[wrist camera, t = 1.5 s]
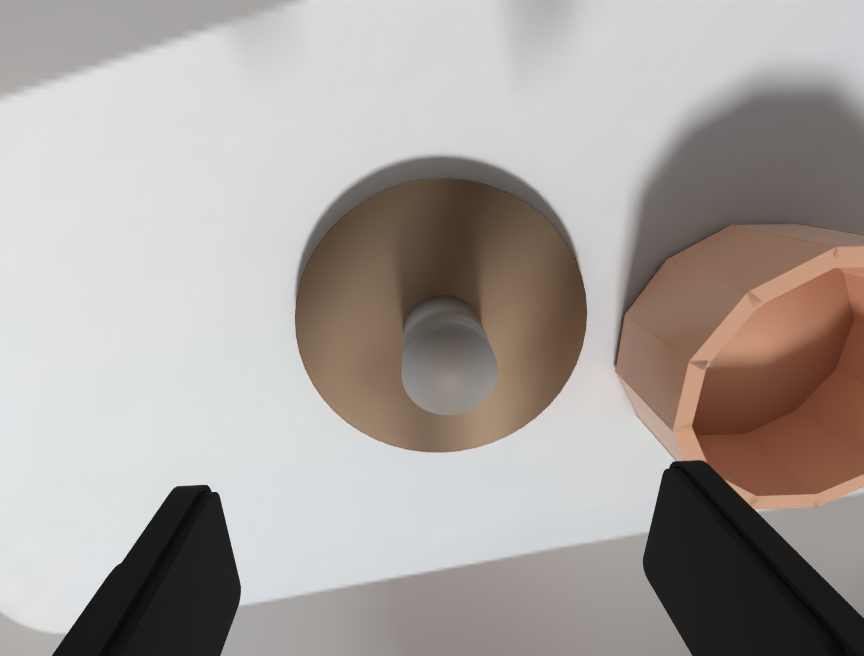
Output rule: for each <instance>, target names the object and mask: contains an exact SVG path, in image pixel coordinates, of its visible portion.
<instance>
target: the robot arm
mask: <svg viewBox="0 0 864 656" xmlns="http://www.w3.org/2000/svg"><path fill="white" fill-rule="evenodd" d="M643 567H644V572H645V574H646V577H647V579H648V581H649V582H650V584H651V586H652V587H653V589H654V591H655V592H656V594H657V596H658V598H659V599H660V601H661V603H662V604H663V606H664V608H665V609H666V611H667V613H668V615H669V616H670V618H671V620H672V622H673V623H674V625H675V626H676V628H677V630H678V632H679V634H680V635H681V637H682V639H683V640H684V642H685V644H686V646H687V647H688V649H689V651H690V652H691V654H692V656H864V618H863V617H862V616H861V615H860V614H859V613H857V611H856V610H854V608H853V607H852V606H851V605H850V604H849V603H848V602H847V601H845V599H844V598H843V597H842V596H841V595H840V594H839V593H837V591H836V590H834V588H833V587H831V585H829V583H828V582H826V580H825V579H824V578H823V577H821V576H820V574H819V573H818V572H816V570H815V569H813V567H811V566H810V565H809V564H808V563H807V562H806V561H805V560H804V559H803V558H802V557H801V556H800V555H799V554H798V553H797V552H796V551H795V550H794V549H793V548H792V547H791V546H790V545H789V544H788V543H787V542H786V541H785V540H784V539H783V538H782V537H781V536H780V535H779V534H778V533H777V532H776V531H775V530H774V529H773V528H772V527H771V526H770V525H769V524H768V523H767V522H766V521H765V520H764V519H763V518H762V517H761V516H760V515H759V514H758V513H757V512H756V511H755V510H754V509H753V508H752V507H751V506H750V505H749V504H748V503H747V502H746V501H745V500H744V499H743V498H742V497H741V496H740V495H739V494H738V493H737V492H736V491H735V490H734V489H733V488H732V487H731V486H730V485H729V484H728V483H727V482H726V481H725V480H724V479H723V478H722V477H721V476H720V475H719V474H718V473H717V472H716V471H715V470H714V469H713V468H712V467H711V466H710V465H709V464H708V463H706V462H705V461H702V460H691V461H675V462H673V463H672V464H671V465H670V467H669V469H666V470H665V471H664V473H663V476H662V480H661V484H660V489H659V493H658V497H657V501H656V506H655V510H654V514H653V519H652V523H651V527H650V531H649V536H648V540H647V544H646V549H645V553H644V557H643ZM240 595H241V585H240V580H239V576H238V572H237V568H236V563H235V559H234V555H233V551H232V547H231V542H230V538H229V534H228V530H227V525H226V521H225V517H224V513H223V508H222V504H221V500H220V496H219V494H218V493H217V492H211V489H210V487H209V486H208V485H195V486H177V487H175V488H174V489H173V490H172V491H171V492H170V494H169V495H168V496H167V498H166V499H165V501H164V502H163V504H162V505H161V507H160V508H159V510H158V511H157V512H156V514H155V515H154V517H153V518H152V520H151V521H150V523H149V524H148V525H147V527H146V528H145V530H144V531H143V533H142V534H141V536H140V537H139V538H138V540H137V541H136V543H135V544H134V546H133V547H132V549H131V550H130V551H129V553H128V554H127V556H126V557H125V559H124V560H123V562H122V563H120V564H119V565H117V566H116V567H115V568H114V569H113V570H112V572H111V573H110V574H109V575H108V577H107V578H106V579H105V581H104V582H103V584H102V585H101V587H100V588H99V589H98V591H97V592H96V594H95V595H94V596H93V598H92V599H91V601H90V602H89V604H88V605H87V606H86V608H85V609H84V611H83V612H82V614H81V615H80V616H79V618H78V619H77V621H76V622H75V624H74V625H73V626H72V628H71V629H70V631H69V632H68V634H67V635H66V636H65V638H64V639H63V641H62V642H61V644H60V645H59V646H58V648H57V649H56V651H55V652H54V653H53V655H52V656H220V655H221V652H222V649H223V646H224V644H225V641H226V638H227V635H228V633H229V630H230V627H231V624H232V622H233V619H234V616H235V613H236V611H237V608H238V605H239V601H240Z"/></svg>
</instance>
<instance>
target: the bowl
mask: <svg viewBox="0 0 864 656" xmlns="http://www.w3.org/2000/svg"><path fill="white" fill-rule="evenodd" d="M615 372H616V373H617V375H618V377H619V380H620V382H621V384H622V386H623V388H624V390H625V392H626V394H627V396H628V398H629V401H630V403H631V405H632V407H633V409H634V411H635V413H636V415H637V417H638V418H639V419H640V420H641V421H642V422H643V423H644V425H645V426H646V427H647V428H648V429H649V430H650V432H651V433H652V434H653V435H654V436H655V437H656V438H657V440H658V441H659V442H660V443H661V444H662V445H663V446H664V448H665V449H666V450H667V451H668V452H669V453H670V455H671V456H672V457H673V458H674V459H675V460H676V461H691V460H702V461H705V462H706V463H708V464H709V465H710V466H711V467H712V468H713V469H714V470H715V471H716V472H717V473H718V474H719V475H720V476H721V477H722V478H723V479H724V480H725V481H726V482H727V483H728V484H729V485H730V486H731V487H732V488H733V489H734V490H735V491H736V492H737V493H738V494H739V495H740V496H741V497H742V498H743V499H744V500H745V501H746V502H747V503H748V504H749V505H750V506H751V507H752V508H753V509H777V508H804V507H817V506H820V505H822V504H824V503H827V502H829V501H832V500H834V499H836V498H839V497H841V496H843V495H846V494H848V493H851V492H853V491H855V490H858V489H860V488H862V487H864V235H860V234H854V233H848V232H842V231H837V230H831V229H825V228H819V227H813V226H807V225H801V224H756V225H730V226H728V227H726V228H724V229H722V230H720V231H719V232H717V233H715V234H713V235H711V236H709V237H707V238H706V239H704V240H702V241H700V242H698V243H696V244H694V245H692V246H691V247H689V248H687V249H685V250H683V251H681V252H679V253H678V254H676V255H674V256H672V257H670V258H668V259H666V261H665V262H664V264H663V265H662V266H661V267H660V269H659V270H658V271H657V273H656V274H655V275H654V277H653V278H652V279H651V281H650V282H649V283H648V285H647V286H646V287H645V289H644V290H643V291H642V293H641V294H640V295H639V296H638V298H637V299H636V300H635V302H634V303H633V304H632V306H631V307H630V308H629V310H628V311H627V312H626V314H625V317H624V323H623V329H622V335H621V341H620V347H619V353H618V359H617V365H616V371H615Z"/></svg>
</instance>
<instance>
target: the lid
mask: <svg viewBox="0 0 864 656" xmlns="http://www.w3.org/2000/svg"><path fill="white" fill-rule="evenodd" d="M586 320H587V305H586V293H585V289H584V284H583V280H582V276H581V273H580V270H579V268H578V265H577V262H576V260H575V258H574V256H573V254H572V252H571V250H570V249H569V247H568V245H567V243H566V242H565V240H564V239H563V238H562V236H561V235H560V234H559V233H558V231H557V230H556V229H555V227H554V226H553V225H552V224H551V223H550V222H549V221H548V220H547V219H546V218H545V217H543V216H542V215H541V214H540V213H539V212H538V211H536V210H535V209H534V208H532V207H531V206H530V205H528V204H527V203H525V202H524V201H522V200H520V199H518V198H516V197H515V196H513V195H511V194H509V193H507V192H505V191H502V190H499V189H496V188H494V187H491V186H488V185H485V184H482V183H477V182H472V181H468V180H463V179H447V178H438V179H425V180H418V181H414V182H409V183H404V184H400V185H398V186H395V187H392V188H390V189H387V190H384V191H382V192H380V193H378V194H376V195H374V196H372V197H370V198H368V199H367V200H365V201H363V202H362V203H360V204H359V205H358V206H356V207H355V208H354V209H352V210H351V211H349V212H348V213H347V214H346V215H344V216H343V217H342V218H341V219H340V220H339V221H338V222H337V223H336V224H335V225H334V226H333V227H332V228H331V229H330V230H329V231H328V233H327V234H326V235H325V237H324V238H323V239H322V240H321V242H320V243H319V244H318V246H317V247H316V249H315V251H314V253H313V254H312V256H311V258H310V260H309V262H308V264H307V266H306V269H305V271H304V274H303V276H302V279H301V282H300V286H299V291H298V295H297V300H296V311H295V326H296V338H297V343H298V348H299V353H300V356H301V358H302V361H303V364H304V367H305V370H306V372H307V374H308V376H309V378H310V379H311V381H312V383H313V385H314V387H315V388H316V390H317V391H318V392H319V394H320V395H321V397H322V398H323V400H324V401H325V402H326V403H327V404H328V405H329V406H330V407H331V408H332V409H333V411H334V412H335V413H337V414H338V415H339V416H340V417H341V418H342V419H344V420H345V421H346V422H347V423H348V424H350V425H351V426H353V427H354V428H356V429H357V430H359V431H360V432H362V433H364V434H366V435H368V436H370V437H372V438H374V439H376V440H378V441H381V442H384V443H386V444H389V445H392V446H395V447H399V448H403V449H407V450H414V451H421V452H453V451H462V450H467V449H472V448H477V447H480V446H483V445H486V444H489V443H492V442H495V441H497V440H499V439H502V438H504V437H506V436H508V435H510V434H512V433H514V432H515V431H517V430H519V429H521V428H522V427H524V426H525V425H526V424H528V423H529V422H530V421H532V420H533V419H535V418H536V417H537V416H538V415H539V414H540V413H541V412H542V411H543V410H545V409H546V408H547V407H548V406H549V405H550V404H551V402H552V401H553V400H554V399H555V398H556V396H557V395H558V394H559V393H560V391H561V390H562V388H563V387H564V385H565V384H566V382H567V381H568V379H569V378H570V376H571V374H572V372H573V370H574V368H575V366H576V364H577V361H578V358H579V355H580V352H581V349H582V346H583V341H584V336H585V331H586Z"/></svg>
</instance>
